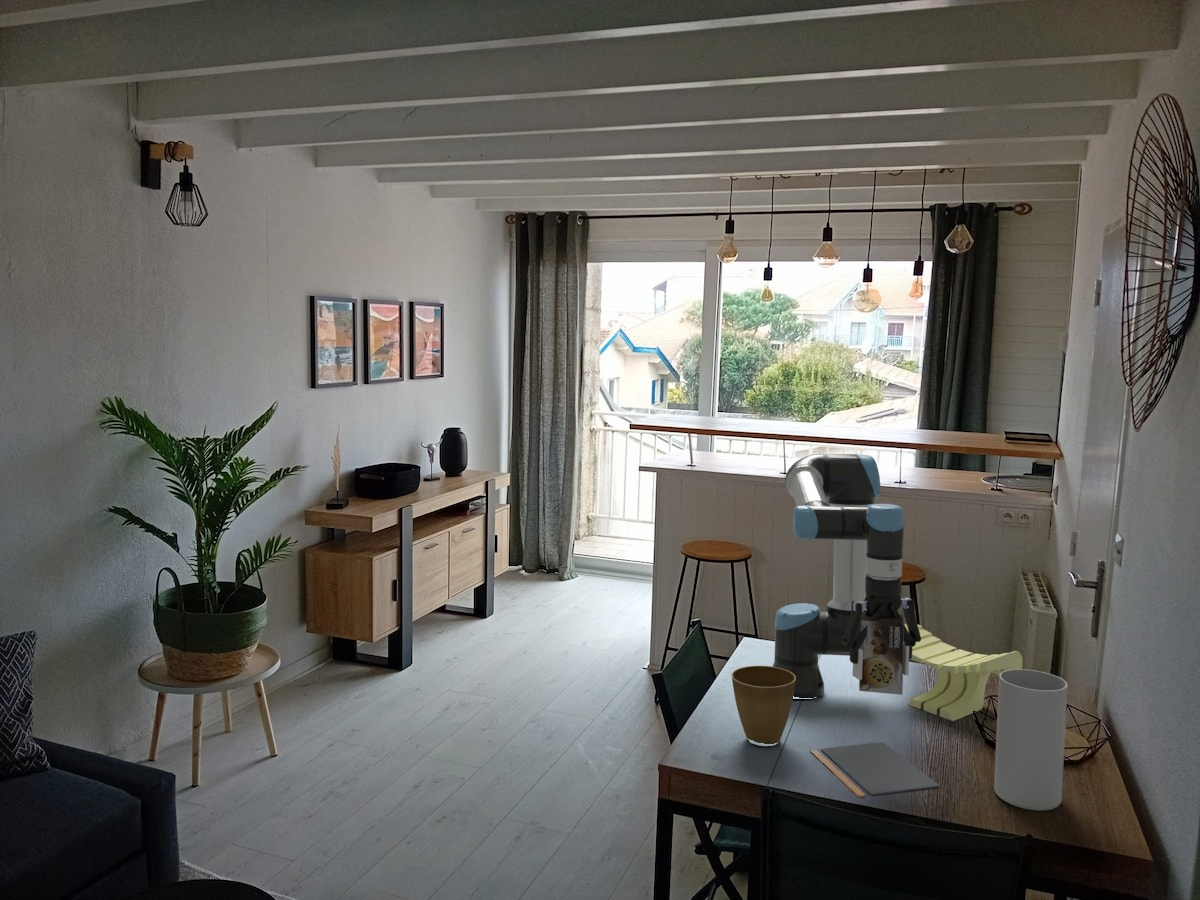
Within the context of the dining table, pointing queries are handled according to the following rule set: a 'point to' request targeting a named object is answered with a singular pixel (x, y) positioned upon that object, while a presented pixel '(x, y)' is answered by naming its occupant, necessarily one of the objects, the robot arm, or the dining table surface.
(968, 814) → the dining table surface
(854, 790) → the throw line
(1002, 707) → the cylinder vase
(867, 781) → the mat
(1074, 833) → the dining table surface
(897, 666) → the coffee box
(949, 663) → the slatted curved stool
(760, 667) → the plant pot
